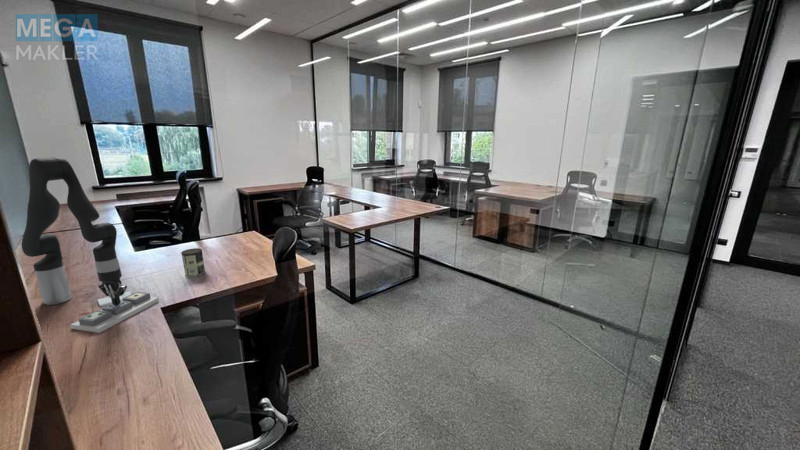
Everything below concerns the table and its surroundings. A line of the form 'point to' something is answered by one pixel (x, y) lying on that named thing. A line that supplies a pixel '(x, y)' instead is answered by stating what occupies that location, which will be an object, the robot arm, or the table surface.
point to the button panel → (115, 313)
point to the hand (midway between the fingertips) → (116, 304)
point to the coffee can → (193, 262)
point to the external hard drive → (108, 300)
